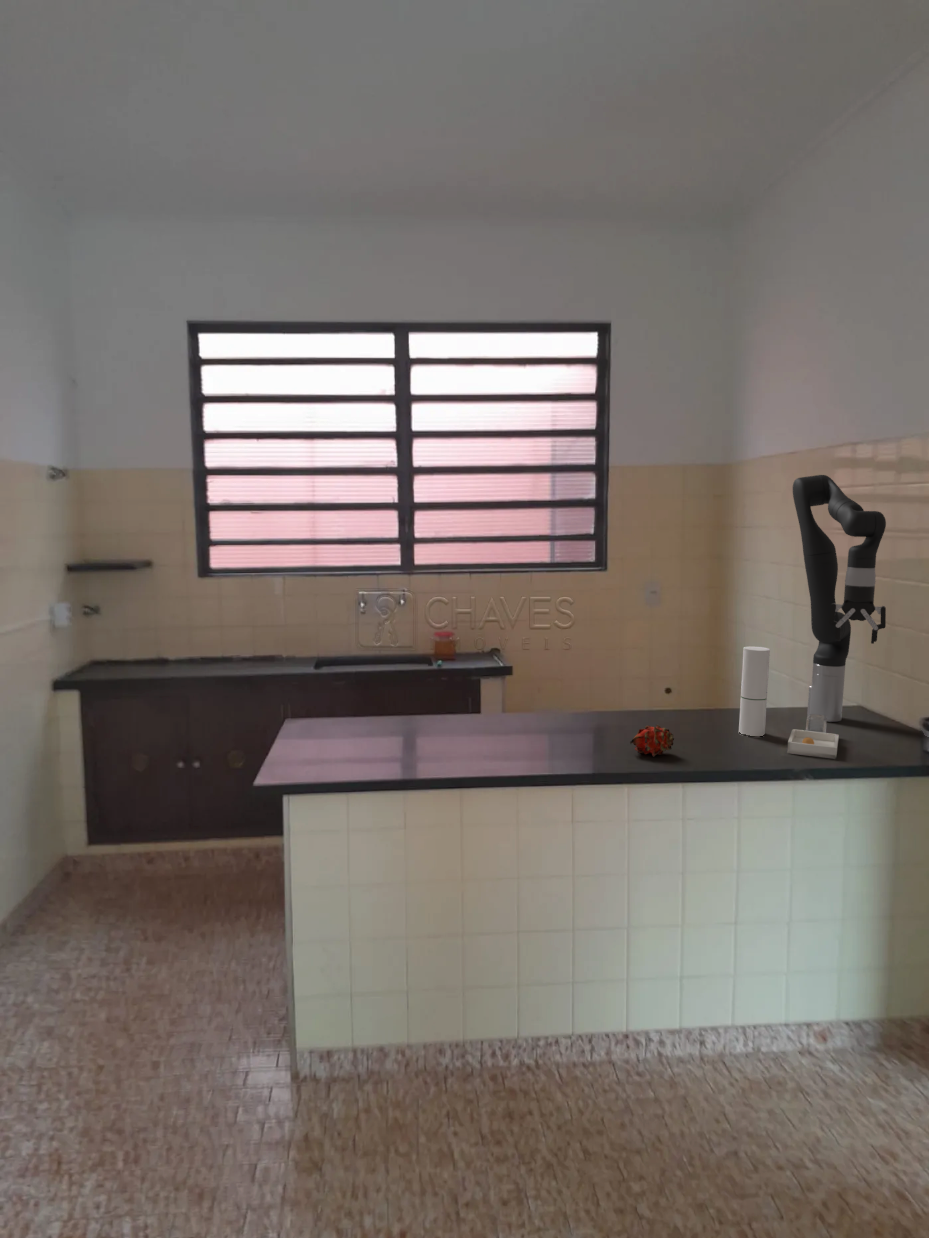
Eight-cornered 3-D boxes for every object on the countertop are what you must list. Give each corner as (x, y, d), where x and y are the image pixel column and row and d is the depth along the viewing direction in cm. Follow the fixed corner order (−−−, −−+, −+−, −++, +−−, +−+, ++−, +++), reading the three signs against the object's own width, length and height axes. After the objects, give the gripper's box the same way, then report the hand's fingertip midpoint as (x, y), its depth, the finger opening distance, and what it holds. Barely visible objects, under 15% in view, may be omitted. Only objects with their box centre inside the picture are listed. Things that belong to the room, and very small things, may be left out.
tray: (791, 739, 244) (792, 729, 243) (837, 744, 239) (838, 734, 238) (787, 753, 230) (787, 742, 230) (836, 759, 225) (836, 748, 225)
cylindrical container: (765, 732, 251) (771, 647, 248) (763, 738, 245) (768, 651, 241) (740, 729, 254) (745, 645, 251) (737, 735, 248) (741, 649, 244)
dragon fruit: (677, 760, 228) (633, 767, 227) (667, 735, 234) (624, 742, 233) (681, 740, 222) (635, 748, 221) (670, 715, 228) (626, 722, 227)
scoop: (807, 733, 251) (808, 713, 250) (825, 735, 249) (827, 715, 248) (805, 740, 244) (806, 719, 243) (824, 742, 242) (825, 721, 241)
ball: (800, 736, 233) (799, 747, 232) (806, 737, 230) (806, 748, 229) (810, 737, 233) (809, 748, 233) (816, 738, 230) (816, 749, 230)
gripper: (831, 583, 237) (827, 641, 240) (888, 586, 231) (884, 646, 234) (832, 581, 244) (828, 638, 246) (888, 584, 238) (883, 642, 240)
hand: (855, 642), depth 240 cm, fingers open, 8 cm apart
